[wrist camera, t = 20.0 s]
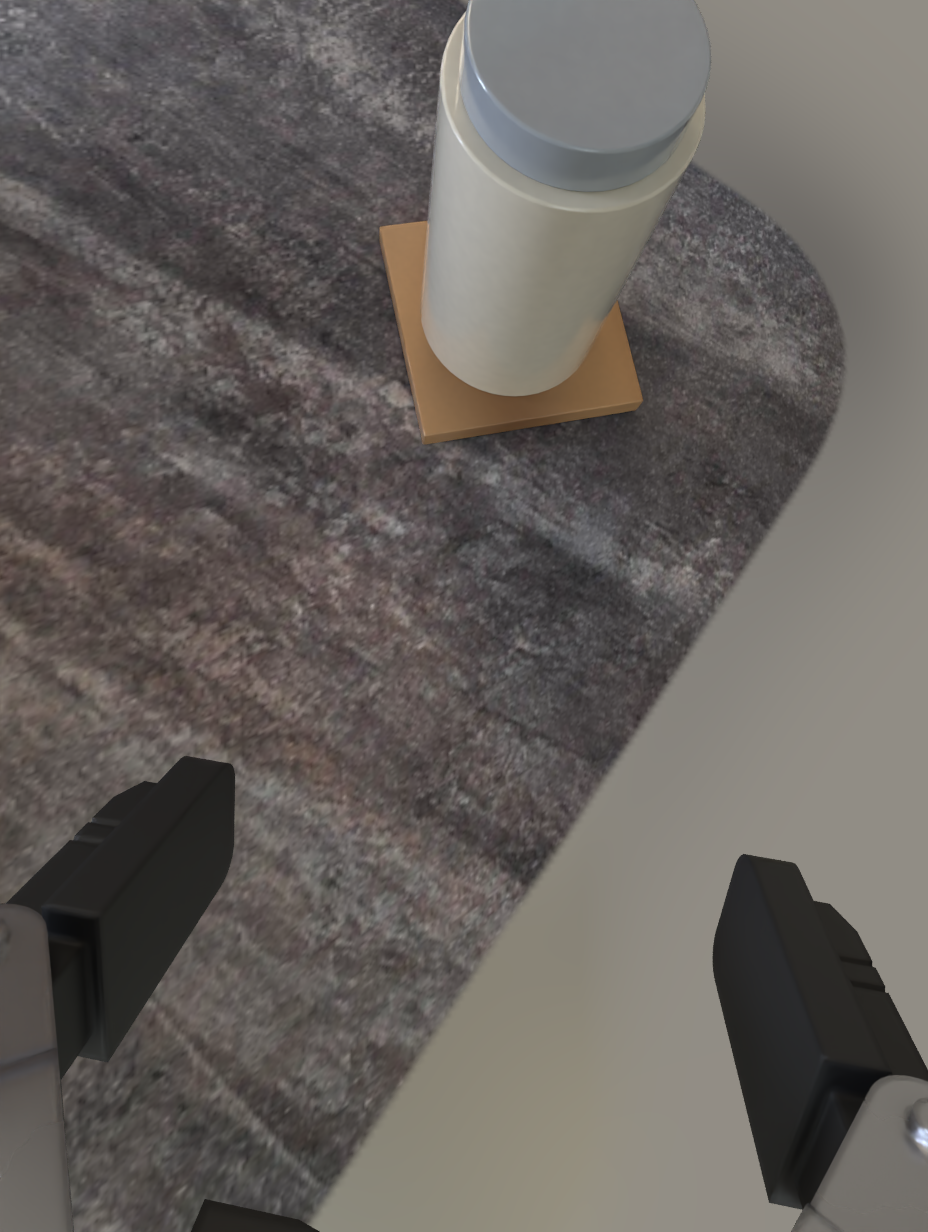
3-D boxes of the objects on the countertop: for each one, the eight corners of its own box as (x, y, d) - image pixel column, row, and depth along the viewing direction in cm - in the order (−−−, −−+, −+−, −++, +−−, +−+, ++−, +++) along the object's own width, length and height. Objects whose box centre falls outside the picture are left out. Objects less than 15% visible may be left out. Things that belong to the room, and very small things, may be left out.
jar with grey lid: (599, 246, 26) (734, -59, 16) (591, 407, 25) (728, 189, 15) (427, 221, 26) (456, -110, 16) (412, 385, 25) (432, 144, 15)
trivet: (586, 215, 27) (592, 199, 26) (636, 411, 26) (644, 401, 25) (379, 241, 26) (379, 225, 25) (422, 445, 25) (423, 436, 24)
